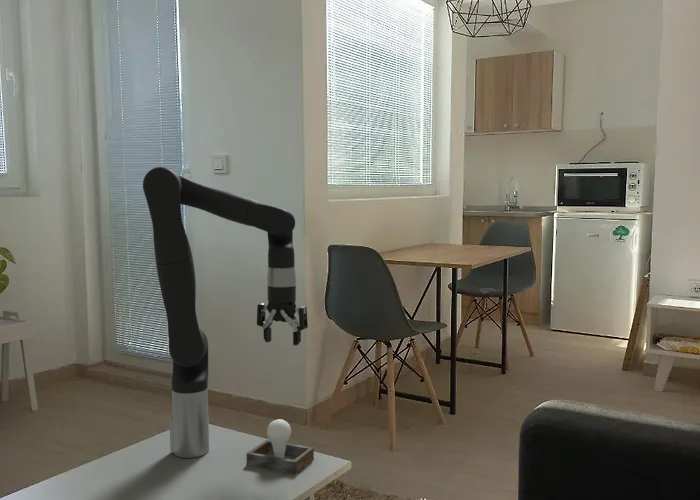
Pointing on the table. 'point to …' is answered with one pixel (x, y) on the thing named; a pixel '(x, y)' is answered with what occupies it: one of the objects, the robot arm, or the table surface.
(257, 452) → the brown wooden shallow box
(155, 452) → the table surface
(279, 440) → the lightbulb
